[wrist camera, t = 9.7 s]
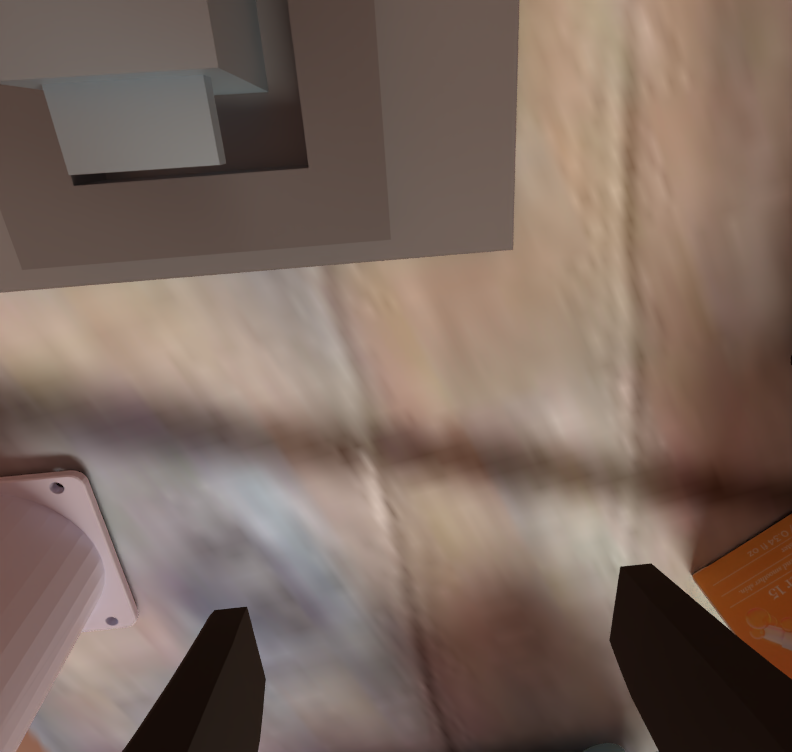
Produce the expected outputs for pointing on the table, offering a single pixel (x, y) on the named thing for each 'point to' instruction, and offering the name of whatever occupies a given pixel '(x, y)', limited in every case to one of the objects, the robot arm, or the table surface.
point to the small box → (756, 592)
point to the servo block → (133, 75)
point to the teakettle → (605, 748)
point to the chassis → (293, 156)
